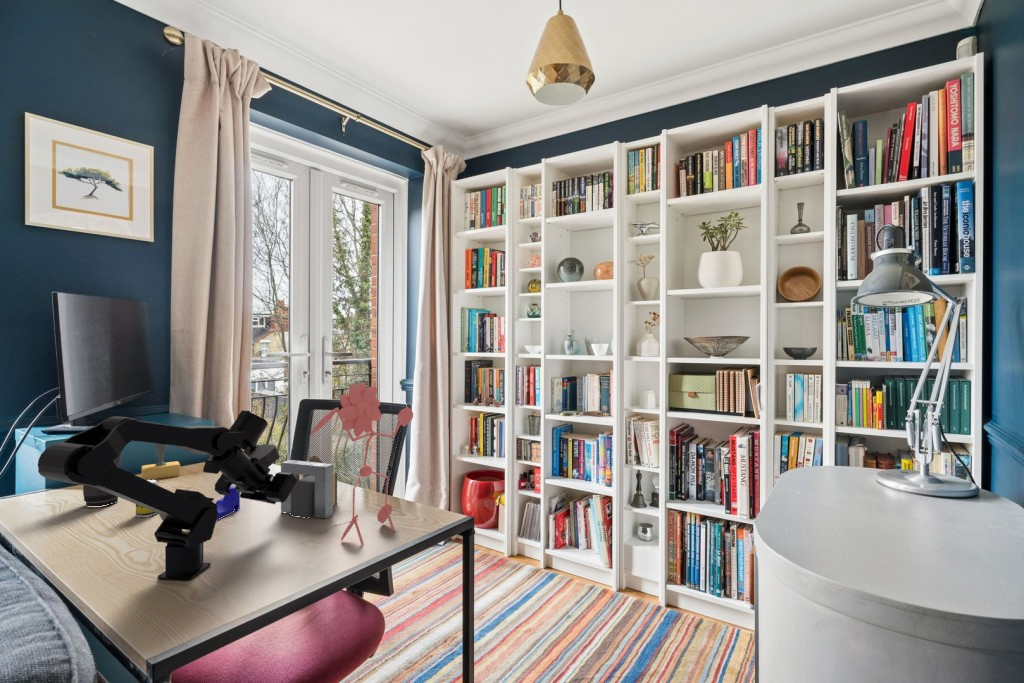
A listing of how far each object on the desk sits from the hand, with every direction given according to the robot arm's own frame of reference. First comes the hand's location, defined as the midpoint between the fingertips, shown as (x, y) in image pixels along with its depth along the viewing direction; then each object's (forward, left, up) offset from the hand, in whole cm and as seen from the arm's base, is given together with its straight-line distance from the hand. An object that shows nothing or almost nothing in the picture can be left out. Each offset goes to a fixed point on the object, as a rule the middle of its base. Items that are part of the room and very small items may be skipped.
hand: (274, 502), depth 123 cm
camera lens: (+14, +55, -7) cm, 57 cm away
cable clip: (+7, +19, -7) cm, 22 cm away
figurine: (0, -20, -7) cm, 21 cm away
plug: (+14, -4, -6) cm, 16 cm away
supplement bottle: (+7, +37, -7) cm, 38 cm away
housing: (+11, -3, -6) cm, 13 cm away
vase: (+35, +6, -7) cm, 36 cm away
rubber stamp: (+41, +59, -7) cm, 72 cm away
